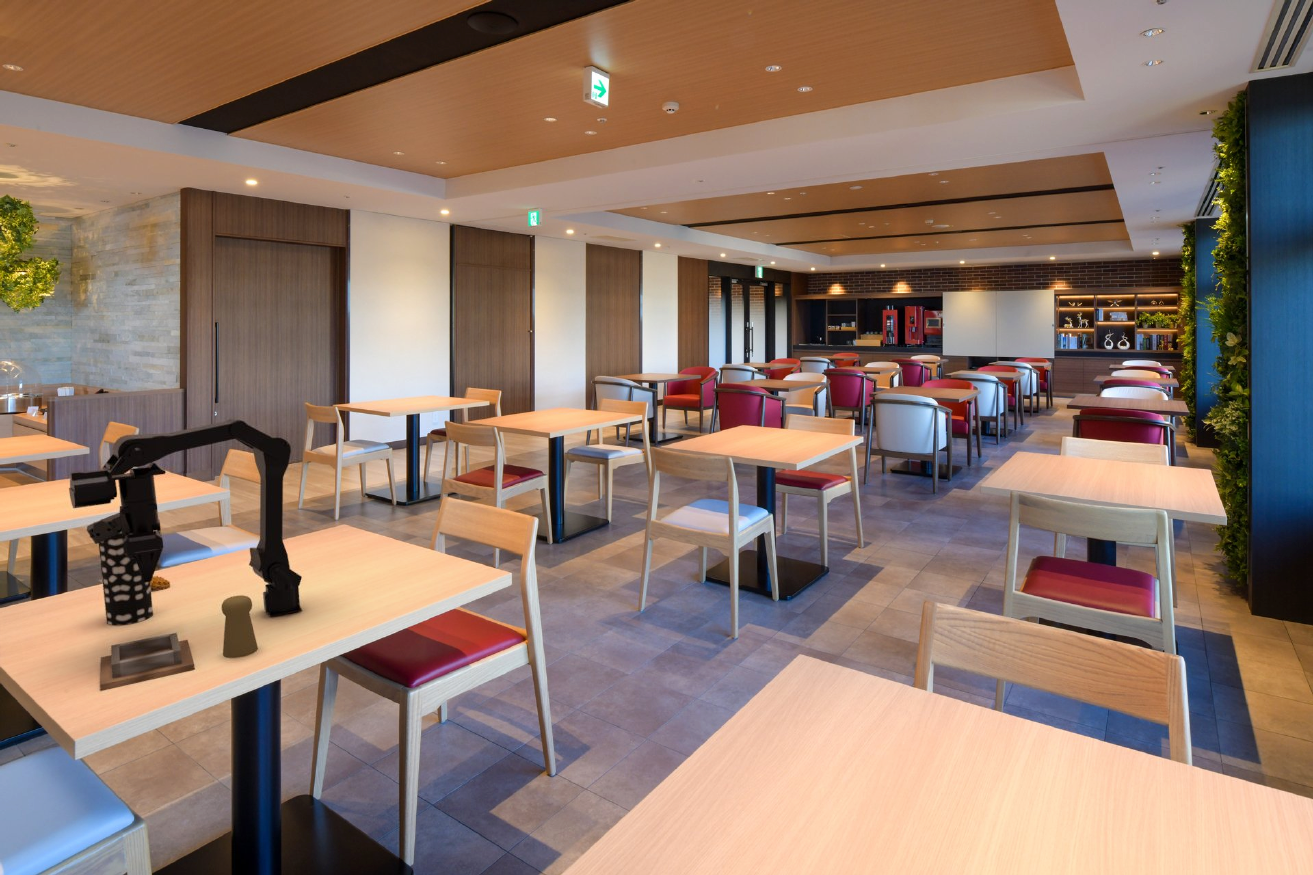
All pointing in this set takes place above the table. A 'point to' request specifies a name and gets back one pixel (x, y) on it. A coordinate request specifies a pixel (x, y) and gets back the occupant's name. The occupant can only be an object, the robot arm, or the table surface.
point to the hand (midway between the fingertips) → (147, 575)
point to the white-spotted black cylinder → (123, 585)
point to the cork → (238, 627)
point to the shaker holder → (145, 660)
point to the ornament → (159, 582)
